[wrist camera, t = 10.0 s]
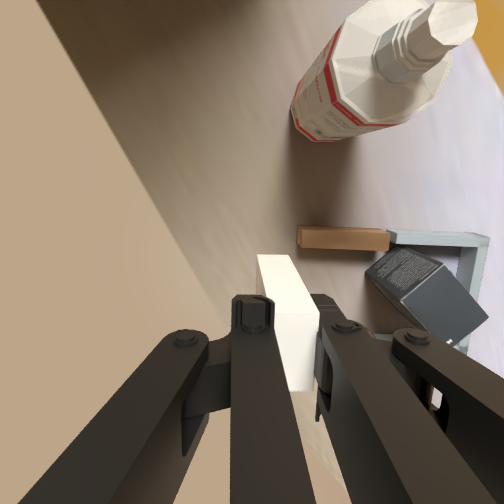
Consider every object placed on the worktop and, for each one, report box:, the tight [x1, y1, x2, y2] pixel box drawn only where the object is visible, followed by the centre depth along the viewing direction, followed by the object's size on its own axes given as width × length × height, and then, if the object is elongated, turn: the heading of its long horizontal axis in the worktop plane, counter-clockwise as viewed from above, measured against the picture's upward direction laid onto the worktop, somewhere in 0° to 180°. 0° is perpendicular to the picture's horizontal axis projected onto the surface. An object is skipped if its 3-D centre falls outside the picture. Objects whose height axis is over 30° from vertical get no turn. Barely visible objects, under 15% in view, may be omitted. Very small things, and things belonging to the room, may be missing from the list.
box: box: [365, 244, 489, 347], centre depth 41 cm, size 8×6×11 cm
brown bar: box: [296, 225, 391, 338], centre depth 44 cm, size 15×10×4 cm, turn 177°
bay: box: [372, 229, 490, 355], centre depth 45 cm, size 15×11×3 cm
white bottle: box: [290, 0, 478, 142], centre depth 29 cm, size 8×8×25 cm
